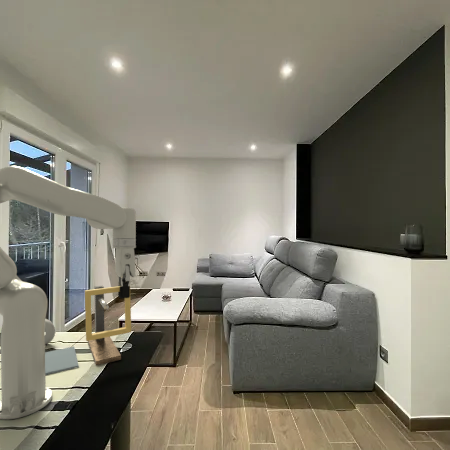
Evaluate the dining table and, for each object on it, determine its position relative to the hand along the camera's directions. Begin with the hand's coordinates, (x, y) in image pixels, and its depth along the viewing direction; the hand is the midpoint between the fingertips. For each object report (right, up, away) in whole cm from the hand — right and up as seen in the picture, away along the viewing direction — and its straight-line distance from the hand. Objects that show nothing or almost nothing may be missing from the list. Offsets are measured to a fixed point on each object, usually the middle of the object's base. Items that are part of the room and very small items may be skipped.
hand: (123, 296), depth 101 cm
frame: (-4, -12, -3) cm, 13 cm away
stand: (-11, -22, +8) cm, 26 cm away
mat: (-23, -22, +1) cm, 32 cm away
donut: (-37, -23, +16) cm, 46 cm away
